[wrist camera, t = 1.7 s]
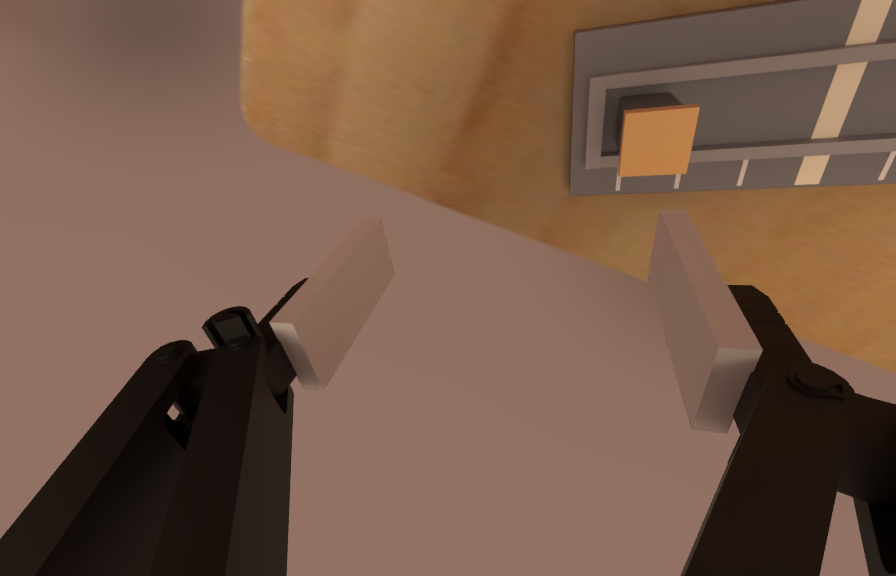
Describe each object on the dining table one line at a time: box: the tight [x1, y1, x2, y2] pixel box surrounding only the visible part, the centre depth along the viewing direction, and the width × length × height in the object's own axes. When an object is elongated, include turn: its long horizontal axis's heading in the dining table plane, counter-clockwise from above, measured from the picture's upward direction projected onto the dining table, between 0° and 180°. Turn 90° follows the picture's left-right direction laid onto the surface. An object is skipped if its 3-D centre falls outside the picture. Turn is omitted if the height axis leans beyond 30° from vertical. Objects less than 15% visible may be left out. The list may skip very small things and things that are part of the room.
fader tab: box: [616, 92, 700, 177], centre depth 25 cm, size 4×4×6 cm
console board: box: [570, 0, 896, 196], centre depth 26 cm, size 23×11×3 cm, turn 98°
